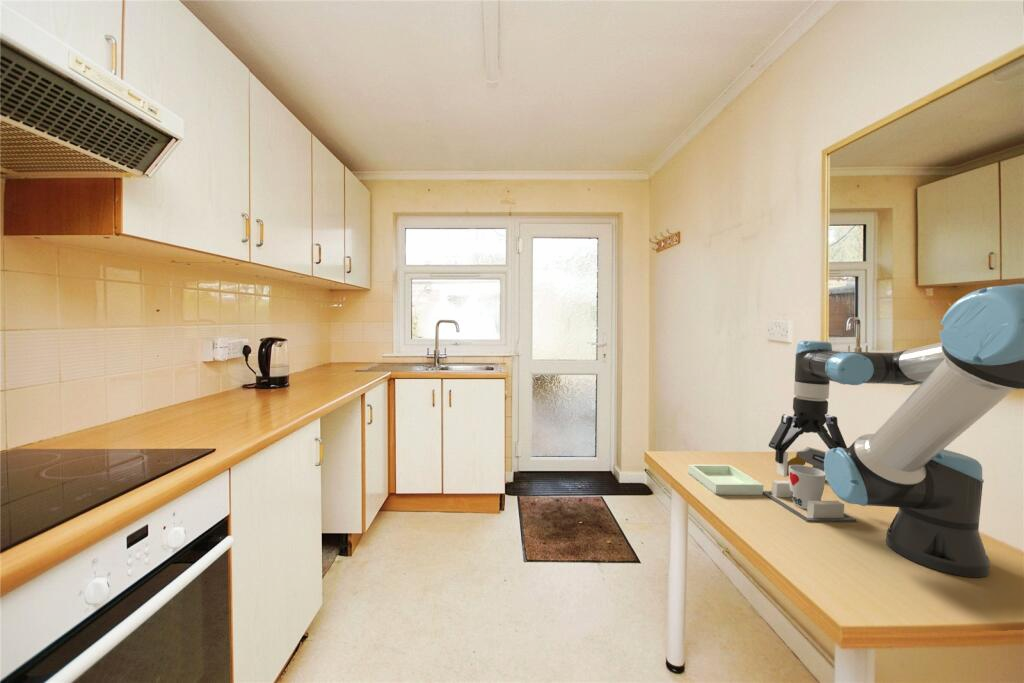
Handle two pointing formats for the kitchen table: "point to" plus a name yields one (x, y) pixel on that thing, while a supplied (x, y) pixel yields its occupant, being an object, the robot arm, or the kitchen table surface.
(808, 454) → the gun
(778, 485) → the holder
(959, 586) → the kitchen table surface
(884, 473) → the robot arm
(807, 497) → the cup
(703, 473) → the tray
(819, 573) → the kitchen table surface
